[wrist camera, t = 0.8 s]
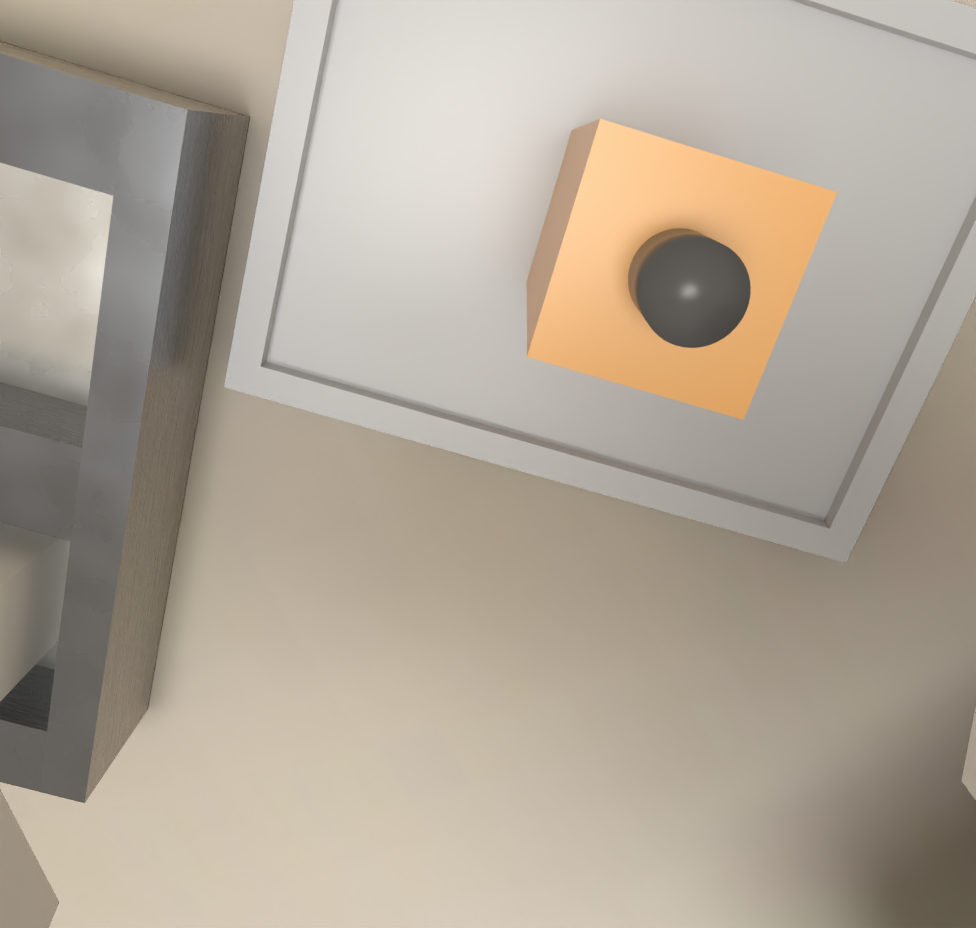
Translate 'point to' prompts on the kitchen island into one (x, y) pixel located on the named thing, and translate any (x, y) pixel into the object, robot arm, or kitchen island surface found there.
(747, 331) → the orange square bottle
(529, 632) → the kitchen island surface
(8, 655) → the white square bottle
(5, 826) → the robot arm
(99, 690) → the grey bottle rack
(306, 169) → the tray
